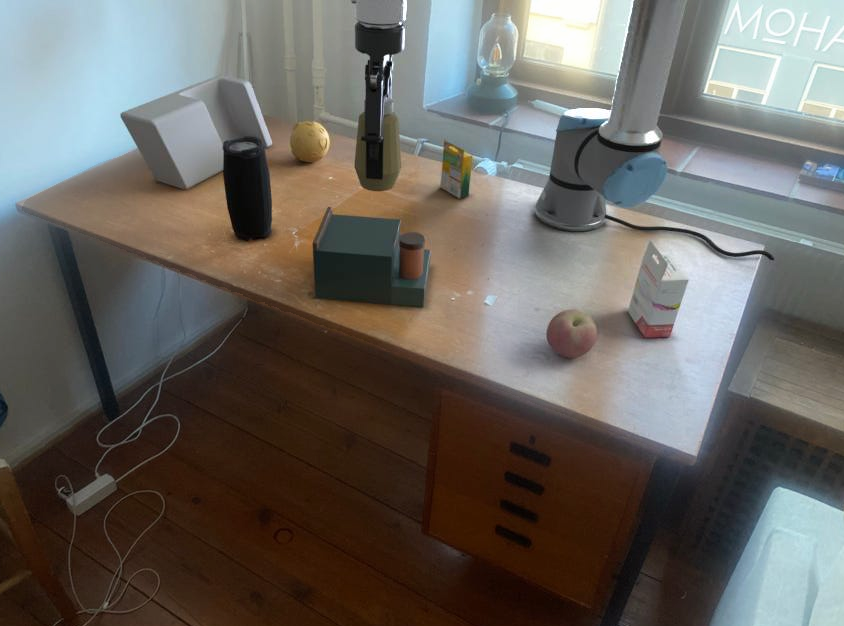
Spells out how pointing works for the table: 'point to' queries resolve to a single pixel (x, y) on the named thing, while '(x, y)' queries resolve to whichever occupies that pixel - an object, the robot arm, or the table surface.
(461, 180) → the crayon box
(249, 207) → the portable speaker
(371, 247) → the dark green stepped block
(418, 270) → the spice jar
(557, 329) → the apple
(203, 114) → the bracket
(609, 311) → the table surface
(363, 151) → the squeeze bottle
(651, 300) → the ink cartridge box
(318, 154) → the stress ball
